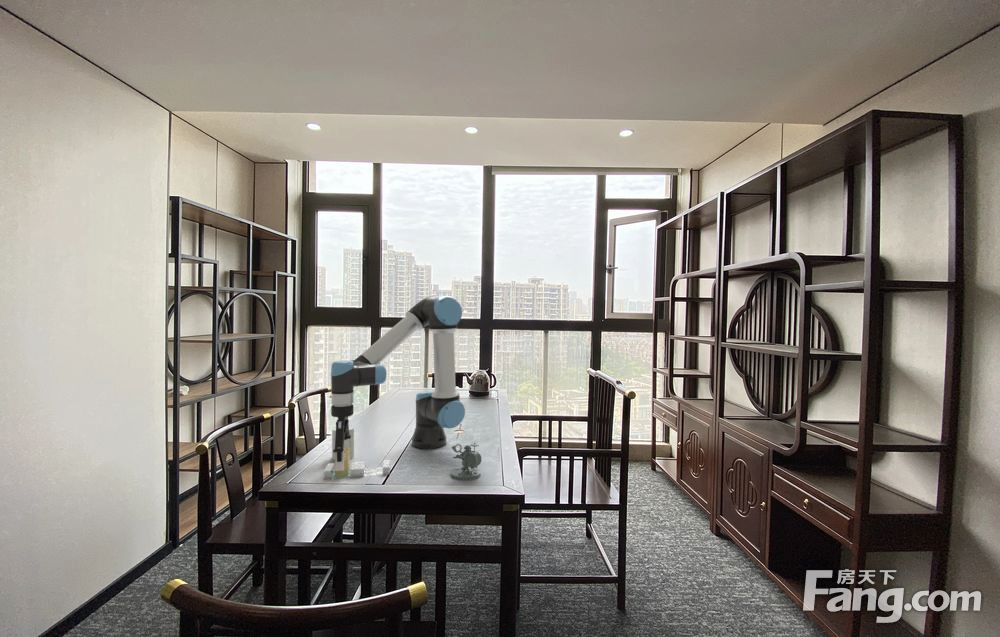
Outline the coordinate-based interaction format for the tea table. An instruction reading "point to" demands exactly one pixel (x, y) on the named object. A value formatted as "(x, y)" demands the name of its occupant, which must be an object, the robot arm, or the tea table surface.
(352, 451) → the cup
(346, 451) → the pale yellow tall block
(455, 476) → the figurine
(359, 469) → the rail
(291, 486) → the tea table surface
